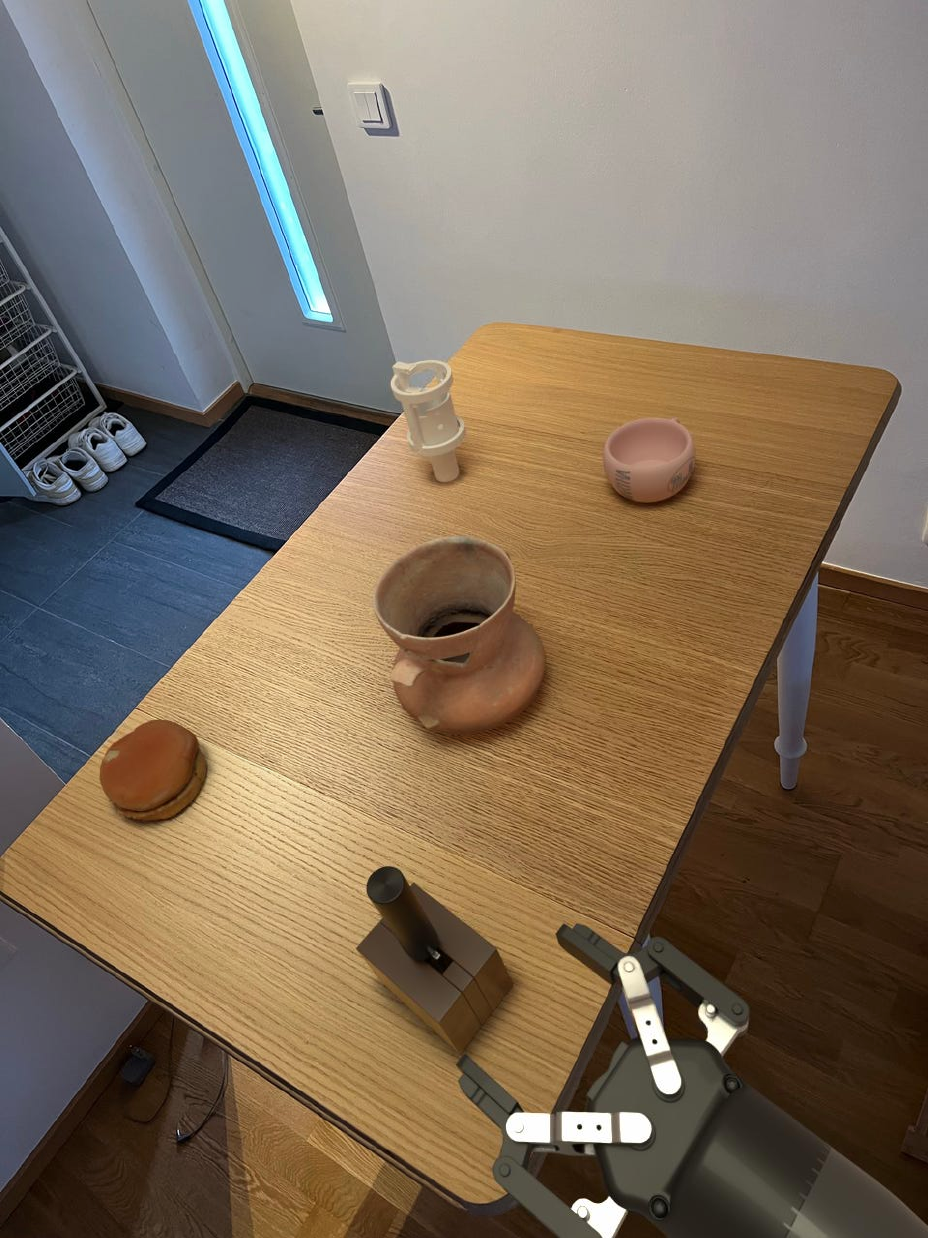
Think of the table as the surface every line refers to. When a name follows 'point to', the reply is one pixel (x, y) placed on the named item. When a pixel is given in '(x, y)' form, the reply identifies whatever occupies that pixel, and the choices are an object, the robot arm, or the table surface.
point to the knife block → (457, 993)
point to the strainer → (430, 416)
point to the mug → (649, 458)
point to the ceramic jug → (458, 636)
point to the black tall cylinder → (404, 915)
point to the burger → (153, 770)
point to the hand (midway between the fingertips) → (513, 996)
